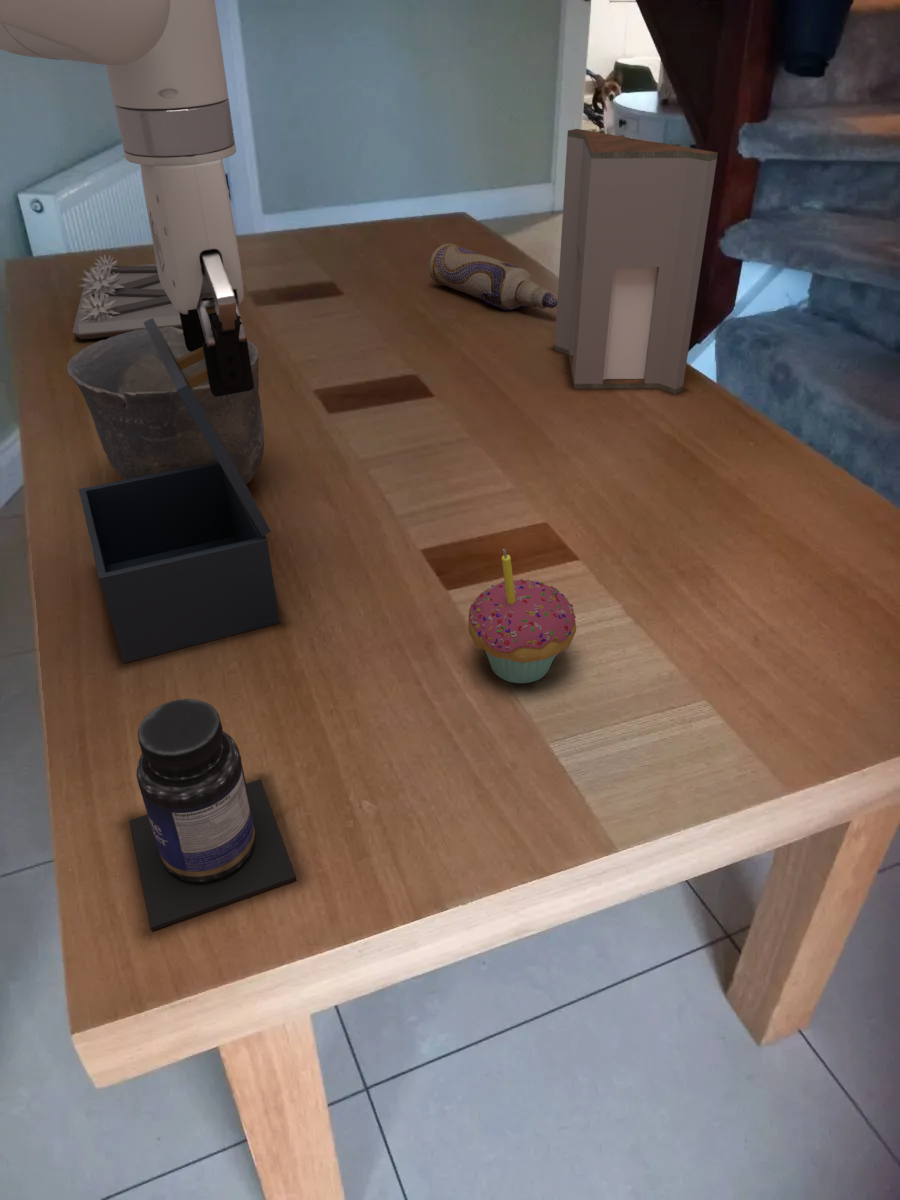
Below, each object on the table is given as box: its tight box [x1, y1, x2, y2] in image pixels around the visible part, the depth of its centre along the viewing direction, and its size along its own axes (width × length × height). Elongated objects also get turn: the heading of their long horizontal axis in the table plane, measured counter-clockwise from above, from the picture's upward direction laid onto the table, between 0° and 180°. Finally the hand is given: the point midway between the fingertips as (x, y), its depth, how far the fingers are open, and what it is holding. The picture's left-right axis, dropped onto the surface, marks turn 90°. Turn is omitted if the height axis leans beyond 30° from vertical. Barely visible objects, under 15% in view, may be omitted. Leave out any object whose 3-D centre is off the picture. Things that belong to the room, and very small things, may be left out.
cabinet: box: [554, 128, 719, 395], centre depth 114 cm, size 21×10×28 cm, turn 42°
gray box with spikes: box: [71, 253, 211, 340], centre depth 145 cm, size 30×22×7 cm
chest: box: [78, 461, 281, 664], centre depth 81 cm, size 13×15×9 cm
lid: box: [144, 318, 272, 536], centre depth 75 cm, size 14×15×5 cm
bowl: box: [66, 327, 265, 485], centre depth 94 cm, size 18×18×15 cm
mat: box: [128, 779, 297, 932], centre depth 60 cm, size 9×9×1 cm
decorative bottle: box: [428, 243, 558, 311], centre depth 144 cm, size 26×8×7 cm, turn 40°
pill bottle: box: [136, 698, 255, 883], centre depth 57 cm, size 6×6×11 cm
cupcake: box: [467, 548, 577, 684], centre depth 71 cm, size 9×8×12 cm
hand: (219, 369), depth 73 cm, fingers open, 9 cm apart
